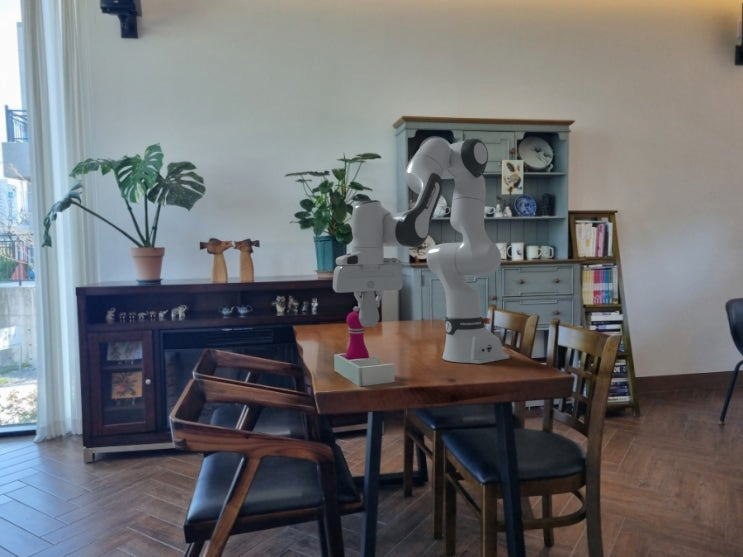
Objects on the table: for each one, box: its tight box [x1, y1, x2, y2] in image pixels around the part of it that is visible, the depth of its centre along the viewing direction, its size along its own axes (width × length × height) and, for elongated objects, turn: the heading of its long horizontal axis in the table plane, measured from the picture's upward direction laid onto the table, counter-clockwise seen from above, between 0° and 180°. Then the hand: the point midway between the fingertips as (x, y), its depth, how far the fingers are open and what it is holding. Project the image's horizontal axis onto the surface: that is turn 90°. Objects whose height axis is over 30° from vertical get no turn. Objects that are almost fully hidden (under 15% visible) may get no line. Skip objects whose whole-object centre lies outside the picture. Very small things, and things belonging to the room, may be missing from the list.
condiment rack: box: [333, 352, 395, 387], centre depth 146 cm, size 10×21×5 cm, turn 23°
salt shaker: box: [358, 281, 380, 328], centre depth 140 cm, size 6×6×13 cm
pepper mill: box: [345, 306, 370, 360], centre depth 150 cm, size 7×7×20 cm
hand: (368, 307), depth 140 cm, fingers closed on salt shaker, 3 cm apart
